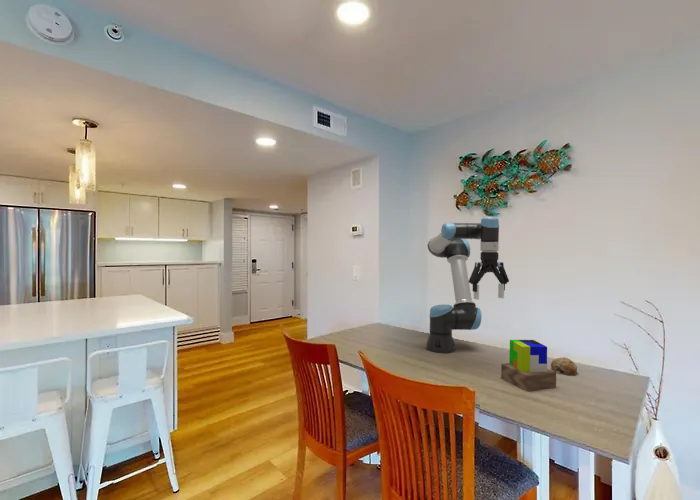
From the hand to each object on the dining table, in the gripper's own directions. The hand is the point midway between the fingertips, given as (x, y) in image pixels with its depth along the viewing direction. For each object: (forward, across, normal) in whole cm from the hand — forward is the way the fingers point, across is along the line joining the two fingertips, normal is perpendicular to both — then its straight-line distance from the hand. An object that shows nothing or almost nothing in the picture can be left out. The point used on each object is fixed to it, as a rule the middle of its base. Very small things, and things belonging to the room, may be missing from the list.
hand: (488, 298), depth 154 cm
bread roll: (+32, +31, -12) cm, 46 cm away
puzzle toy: (+26, +4, -18) cm, 32 cm away
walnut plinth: (+32, +4, -18) cm, 37 cm away
